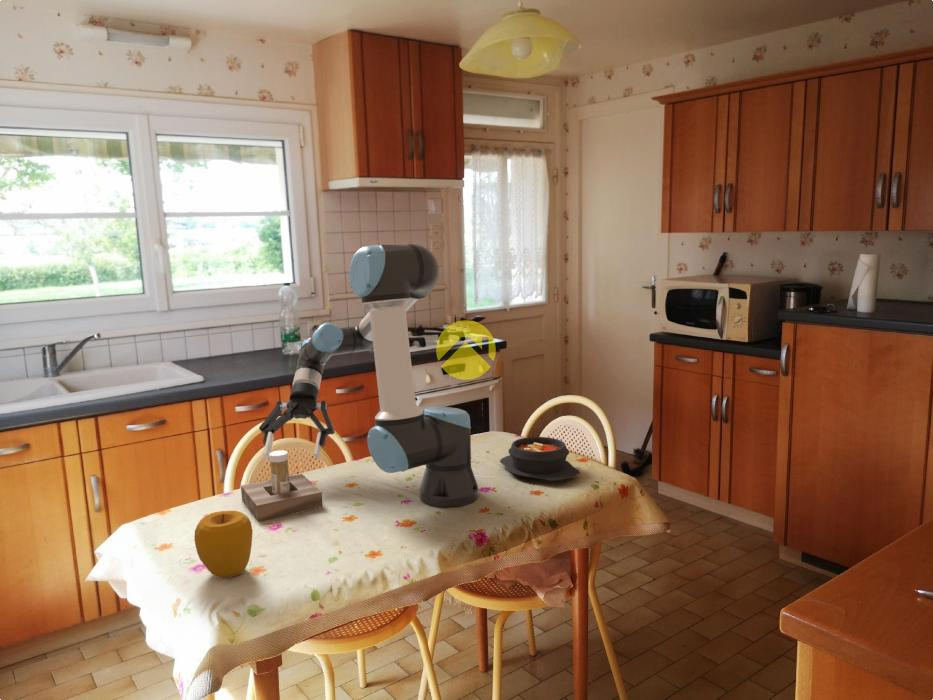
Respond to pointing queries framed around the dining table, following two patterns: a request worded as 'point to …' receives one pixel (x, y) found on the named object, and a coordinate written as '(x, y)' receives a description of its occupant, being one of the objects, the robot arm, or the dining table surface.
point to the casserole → (539, 459)
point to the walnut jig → (281, 498)
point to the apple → (224, 542)
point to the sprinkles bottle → (279, 472)
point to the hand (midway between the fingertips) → (291, 456)
